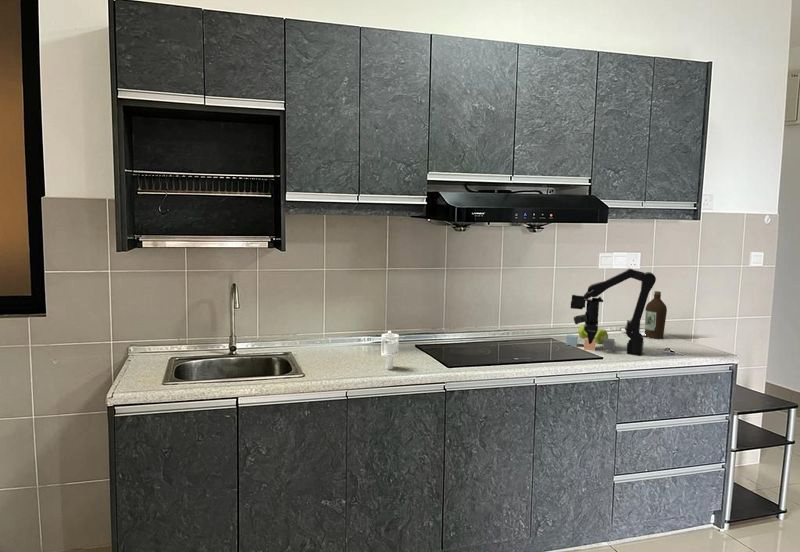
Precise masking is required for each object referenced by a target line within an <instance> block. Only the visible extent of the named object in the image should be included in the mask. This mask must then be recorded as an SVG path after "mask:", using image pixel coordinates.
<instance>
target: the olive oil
mask: <svg viewBox="0 0 800 552" xmlns="http://www.w3.org/2000/svg"><path fill="white" fill-rule="evenodd" d="M653 293H654V294H653V298H652V299H651V300H650V301H649V302H648V303H647V304H646V305H645V308H644V311H645V313H644V314H645V319H644V335H645V334H646V336H647V337H649V338H648V339H652V338H654V339H653V340H663V339H664V335H665V326H666V318H667V314H668V309H667V305H666V304H665V303H664V301H663V300H662V299H661V296H662V294H661V293H662V291H660V290H659V291H657V290H655V291H654V292H653ZM647 337H646V338H647Z"/></svg>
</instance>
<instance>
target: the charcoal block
mask: <svg viewBox="0 0 800 552" xmlns="http://www.w3.org/2000/svg"><path fill="white" fill-rule="evenodd" d="M602 350H603V351H607V350H608V351H609V352H615V339H614V338H609V337H608V338H604V341H603V344H602Z"/></svg>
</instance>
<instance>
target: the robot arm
mask: <svg viewBox="0 0 800 552" xmlns="http://www.w3.org/2000/svg"><path fill="white" fill-rule="evenodd" d="M629 279H634V280H637V281H639V282H640V292H639V294H638V298H637V301H636V305H635V308H634V310H633V313H632V317H631V319H630V320H628V319H627V320H626V326H625V327H624V329H625V333H626V336H627V337H628V338H630V339H629V340H628V341H627V343H626V354H629V355H634V356H642V355H644V353H645V352H644V335H643V334H642V333H641V332H640V329H641V320H642V318H643V317H642V316H643V314H644V311H645V308H646V305H647V304H646V303H647V300H648V297H649V294H650V292H651V290H652V288H653V287H654V285H655V283H656V281H657V279H656V276H655V274H654V273H653V272H650V271H647V272H644V271H639V270H635V269H633V268H628V269H626V270H624V271H622V272H619V273H618V274H617V275H614V276H612V277H609V278H608V279H606V280H603V281H599V282H596V283H591V284H590V285H589V286H588V288H587V291H586V293H584V295H576V294H572V295H571V301H570V309H572V310H583V309H584V308H585V309H586V311H585V312H584V314H580V315H576V316H573V322H574V324H575V325H579V324H581V323H584V324H585V325H584V324H583V325H584V331H585V332H586V333H587V334H588V341H589V344H591V343H592V341H593V339H594V337H595V335H596V334H597V332H598V330H599V311H600V310H599V309H600V303H604V299H603V298H602V296H600V295H601V294H602V293H604V292H605V291H606V290H608V289H610V288H612V287H613V286H616V285H619V284H620V283H622V282H625V281H627V280H629Z"/></svg>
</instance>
